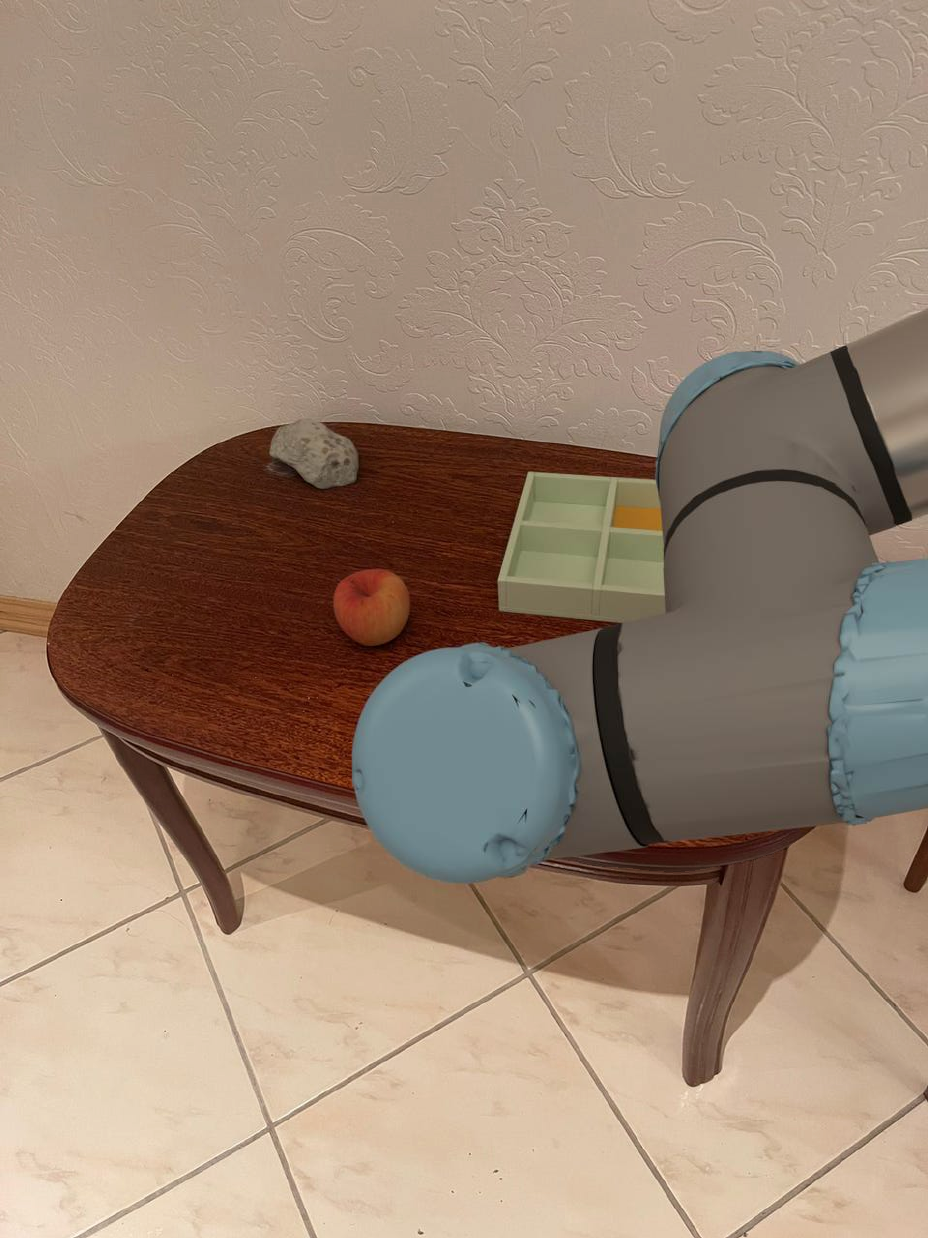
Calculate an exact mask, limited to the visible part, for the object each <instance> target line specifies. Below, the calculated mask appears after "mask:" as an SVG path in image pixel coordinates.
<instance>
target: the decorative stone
mask: <svg viewBox="0 0 928 1238" xmlns="http://www.w3.org/2000/svg"><path fill="white" fill-rule="evenodd" d="M269 455H270V457H271V458H272V459H273V460H277V461H281V462H283V463H284V464H286V465H288V466H289V467H292V468H294V470H295V471H296V472H297V473H298V474H299V475H300V477H302V479H303V480H304V481H305V482H306V483H308V484H311V485H313V486H314V487H316V488H317V489H319V490H327V489H332V488H340V487H344V486H347V485H351V484H355V483H356V482H357V479H358V478H357V477H358V473H359V468H360V467H359V466H360V465H359V464H360V463H359V452H358V450H357V449H356V446H355V445H354V443H353V442H352V440H350V439H349V438H348V437H347V436H344V435H341V434H339V433H335V431H333V430H332V429H330V428H328V427H327V425H325V424H324V423H322V422H319V421H318V420H317V421H316V420H313V419H311V418H302V419H298V420H296V421H293V422H291V423H289V424H286V425H285V424H284V425H282V426H279V427H278V428H277V430H276V431H275V433H274V435H273V437H272V438H271V441H270V447H269Z"/></svg>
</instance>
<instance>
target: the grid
mask: <svg viewBox="0 0 928 1238" xmlns="http://www.w3.org/2000/svg"><path fill="white" fill-rule="evenodd" d="M663 549H664V542H663V530H662V519H661V507H660V501H659V497H658V488H657V484H656V480H655V479H651V478H650V479H649V478H648V479H647V478H632V477H621V476H619V477H615V476H600V475H587V474H586V475H585V474H570V473H557V472H543V471H542V472H541V471H538V472H537V471H528V472H527V475H526V478H525V482H524V485H523V488H522V492H521V496H520V500H519V503H518V507H517V510H516V513H515V516H514V521H513V524H512V528H511V531H510V535H509V538H508V542H507V546H506V549H505V553H504V556H503V560H502V563H501V567H500V570H499V574H498V577H497V598H498V599H497V600H498V612H503V613H504V612H505V613H514V614H515V613H516V614H525V615H536V616H545V617H546V616H547V617H556V618H567V619H577V620H585V621H586V620H587V621H596V622H597V621H598V622H608V623H616V624H620V623H624V622H628V621H633V620H637V619H642V618H646V617H651V616H655V615H660V614H664V613H666V609H665V591H664V572H663V568H664V551H663Z"/></svg>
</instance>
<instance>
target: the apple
mask: <svg viewBox="0 0 928 1238" xmlns="http://www.w3.org/2000/svg"><path fill="white" fill-rule="evenodd" d="M332 602H333V605H332V607H333V613H334V616H335V619H336V622H337V623H338V625H339V627H340V628H341V630H342V631H343V632H344V633H345V634H346V635H347V637H349V638H350V639H352V640H353V641H354V642H356V643H358V644H360V645H362V646H365V647H374V646H375V647H376V646H379V645H383V644H386V643H389V642H391V641H393V640H394V639H395V638H397V637H398V636H399V635H400V634H401V633H402V631H403V630H404V628H405V626H406V624H407V622H408V619H409V616H410V611H411V598H410V593H409V590H408V587H407V585H406V584H405V582H404V581H403V580H402V578H401V577H400V576H399V575H398V574H396V573H394V572H392V571H390V570H388V569H383V568H368V569H363V570H360V571H356V572H354V573H352V574H350V575H348V576H346V577H345V578H343V579H342V580H341V581H340V582H339V583H338V585H337V586H336V588H335V590H334V594H333V600H332Z"/></svg>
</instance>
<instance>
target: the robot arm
mask: <svg viewBox="0 0 928 1238" xmlns="http://www.w3.org/2000/svg"><path fill="white" fill-rule="evenodd" d="M665 405H666V406H665V408H664V410H663V413H662V417H661V422H660V429H659V436H658V437H659V438H658V449H657V455H656V459H655V461H654V462H655V473H654V480H656V484H657V488H658V497H659V501H660V507H661V519H662V530H663V542H664V549H663V551H664V568H663V572H664V591H665V609H666V613H664V614H660V615H655V616H651V617H646V618H642V619H637V620H633V621H628V622H624V623H616V624H613V625H607V626H604V627H601V628H595V629H592V630H587V631H582V632H578V633H573V634H569V635H564V636H559V637H554V638H549V639H546V640H541V641H536V642H531V643H527V644H523V645H518V646H517V645H516V646H512V647H504V646H501V645H499V646H496V647H494V646H490V645H489V644H488V643H487V642H483V641H482V642H481V641H480V642H474V643H468V644H463V645H460V646H456V647H441V648H436V649H431V650H427V651H425V652H422V653H420V654H417V655H414V656H412V657H411V658H409V659H406V660H405V661H404V662H402V663H400V664H398V665H397V666H396V667H395V668H393V669H392V670H391V671H390V672H389V673H388V674H387V675H386V676H384V678H382V680H381V681H380V682H379V683H378V684H377V686H376V687H375V688H374V690H373V691H372V692H371V694H370V696H369V697H368V699H367V701H366V702H365V705H364V706H363V709H362V710H361V713H360V715H359V717H358V721H357V724H356V728H355V731H354V736H353V739H352V747H351V783H352V786H353V789H354V794H355V798H356V802H357V805H358V807H359V810H360V813H361V816H362V817H363V819H364V822H365V824H366V825H367V827H368V829H369V830H370V832H371V834H372V835H373V836H374V838H375V840H376V841H377V842H378V844H380V846H381V847H382V848H383V850H385V851H386V852H387V853H388V854H389V855H390V856H392V858H394V859H395V860H396V861H397V862H398V863H400V864H401V865H402V866H403V867H404V868H407V869H408V870H410V871H412V872H413V873H415V874H417V875H419V876H422V877H424V878H426V879H429V880H432V881H435V882H439V883H443V884H444V883H445V884H451V885H473V884H478V883H483V882H487V881H491V880H493V879H497V878H500V879H501V878H502V879H507V878H508V879H510V878H515V877H518V876H521V875H524V874H525V873H526V872H527V871H528V869H529V868H530V867H531V866H538V865H539V864H541V863H542V862H543V861H549V860H557V859H565V858H573V857H581V856H588V855H597V854H605V853H613V852H622V851H630V850H637V849H645V848H648V847H649V846H650V845H655V844H662V843H663V844H665V843H666V844H668V843H675V842H683V841H693V840H702V839H710V838H719V837H729V836H737V835H747V834H757V833H765V832H774V831H783V830H794V829H801V828H802V829H803V828H811V827H820V826H829V825H838V824H846V825H847V826H853V827H855V826H857V825H867V823H871V822H872V821H873V820H874V819H877V818H883V817H888V816H889V817H890V816H894V815H900V814H904V813H905V814H906V813H910V812H916V811H921V810H922V811H923V810H925V809H927V810H928V558H919V559H918V558H917V559H908V560H907V559H906V560H900V561H899V560H897V561H890V560H886V561H885V562H880V561H879V558H878V555H877V553H876V551H875V548H874V545H873V542H872V539H871V536H874V535H876V534H879V533H881V532H885V531H887V530H890V529H891V530H892V529H894V528H896V527H898V526H901V525H903V524H906V523H910V522H912V521H913V520H916V519H918V518H921V517H924V516H927V515H928V308H925V309H922V310H921V311H917V312H916V313H914V314H912V315H910V316H908V317H905V318H903V319H900V320H898V321H896V322H894V323H892V324H890V325H888V326H885V327H883V328H881V329H879V330H875V331H874V332H872V333H870V334H867V335H865V336H863V337H861V338H858V339H856V340H853V341H851V342H849V343H848V344H844V345H842V346H840V347H838V348H835V349H833V350H831V351H828V352H827V353H823V354H821V355H819V356H816V357H813V358H812V359H810V360H807V361H805V362H803V363H799V362H798V361H797V360H795V359H794V358H791V357H790V356H787V355H785V354H782V353H779V352H775V351H772V350H747V351H736V350H735V351H732V352H727V353H725V354H722V355H719V356H716V357H713V358H712V359H709V360H708V361H706V362H703V364H701V365H699V366H698V367H697V368H695V369H693V371H692V372H690V373H689V374H688V375H687V376H686V377H685V378H684V379H683V380H681V382H680V383H679V384H678V386H676V388H675V390H674V391H673V392H672V394H671V396H670V398H669V399H668V401H667V402H666V404H665Z"/></svg>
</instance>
